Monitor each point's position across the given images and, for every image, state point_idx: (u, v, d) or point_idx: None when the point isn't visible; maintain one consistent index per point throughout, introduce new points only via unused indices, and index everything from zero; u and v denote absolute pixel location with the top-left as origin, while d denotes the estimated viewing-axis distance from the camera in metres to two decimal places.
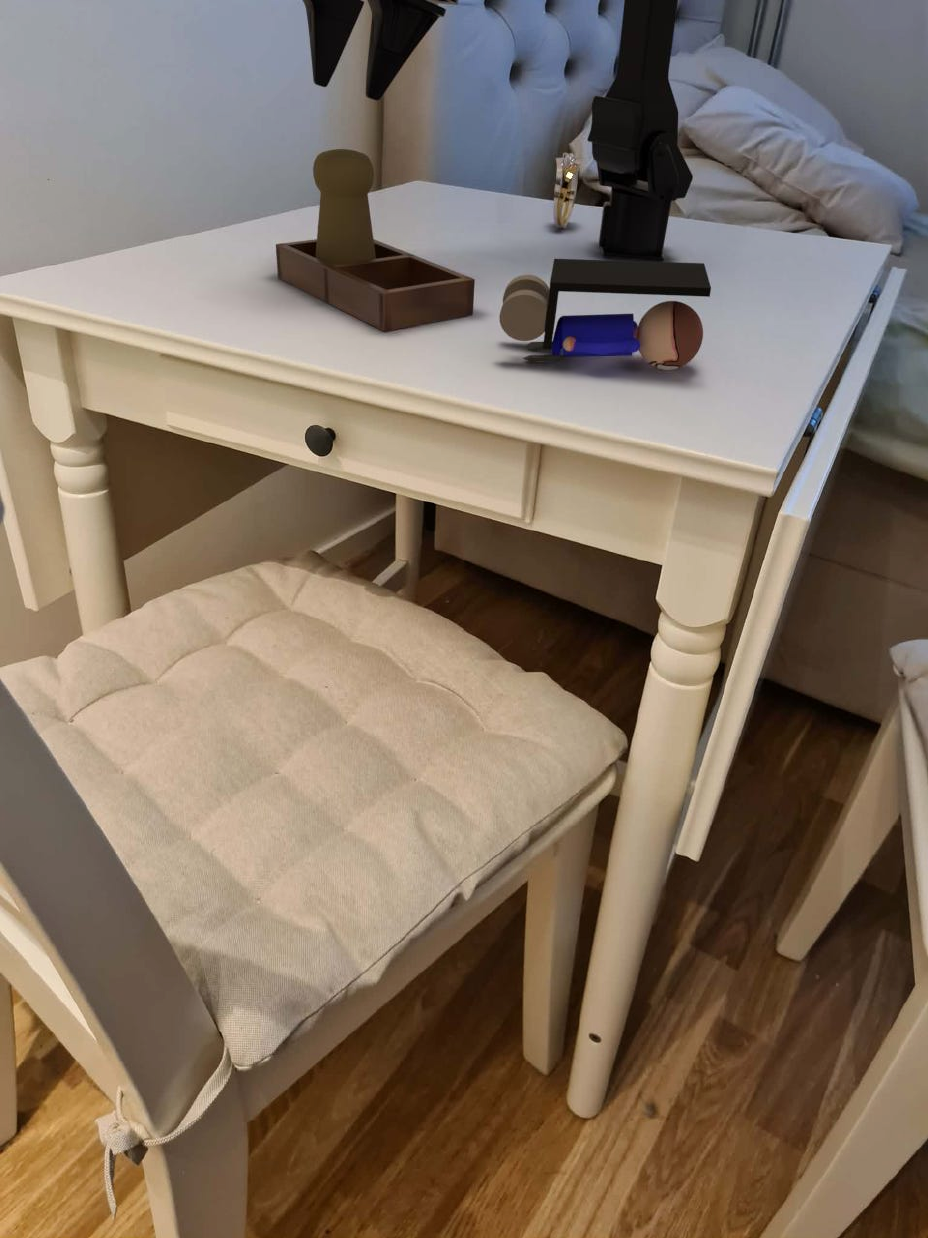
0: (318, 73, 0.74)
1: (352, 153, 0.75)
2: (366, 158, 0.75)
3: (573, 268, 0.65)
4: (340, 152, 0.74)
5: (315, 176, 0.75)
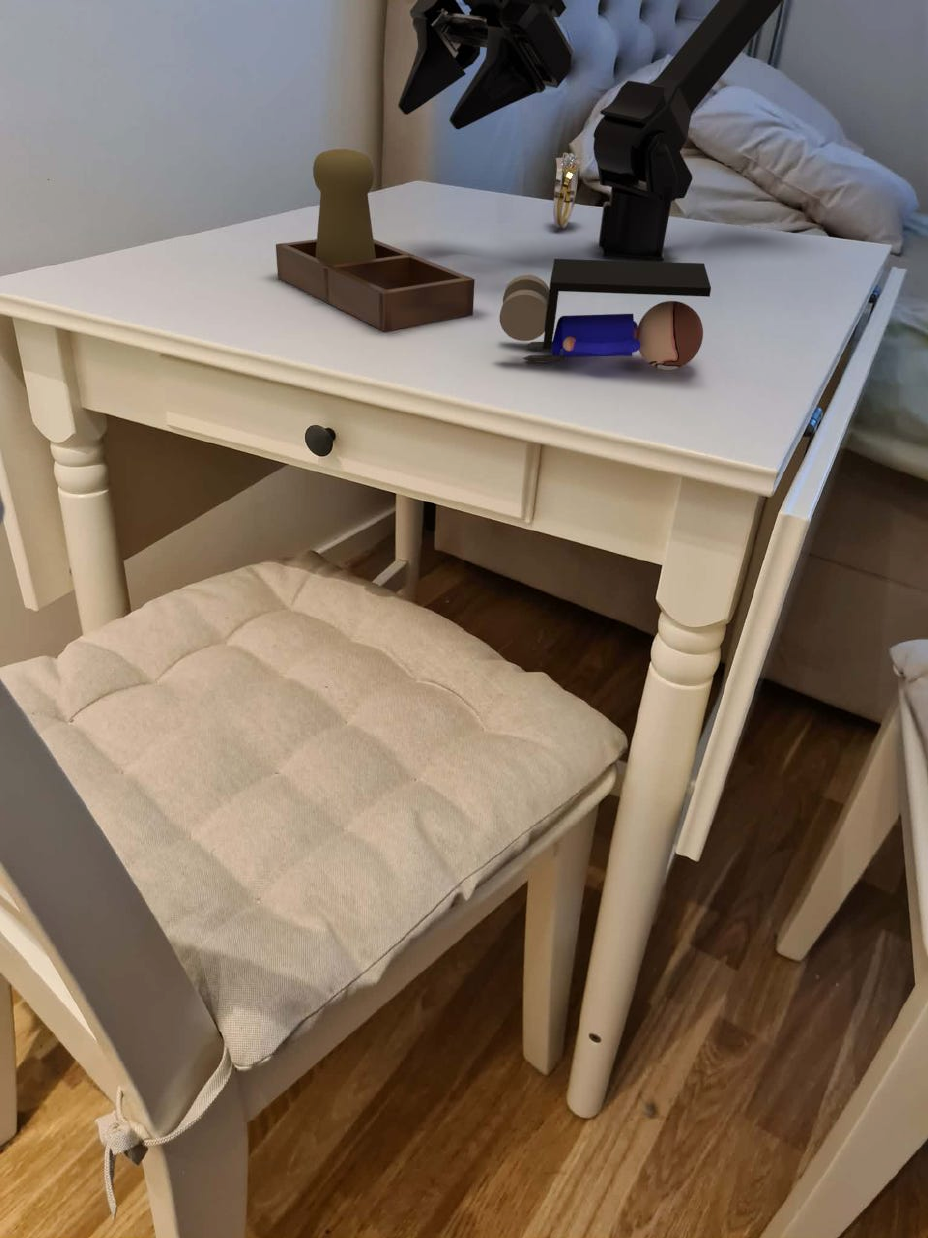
0: (405, 99, 0.80)
1: (352, 153, 0.75)
2: (366, 158, 0.75)
3: (573, 268, 0.65)
4: (340, 152, 0.74)
5: (315, 176, 0.75)
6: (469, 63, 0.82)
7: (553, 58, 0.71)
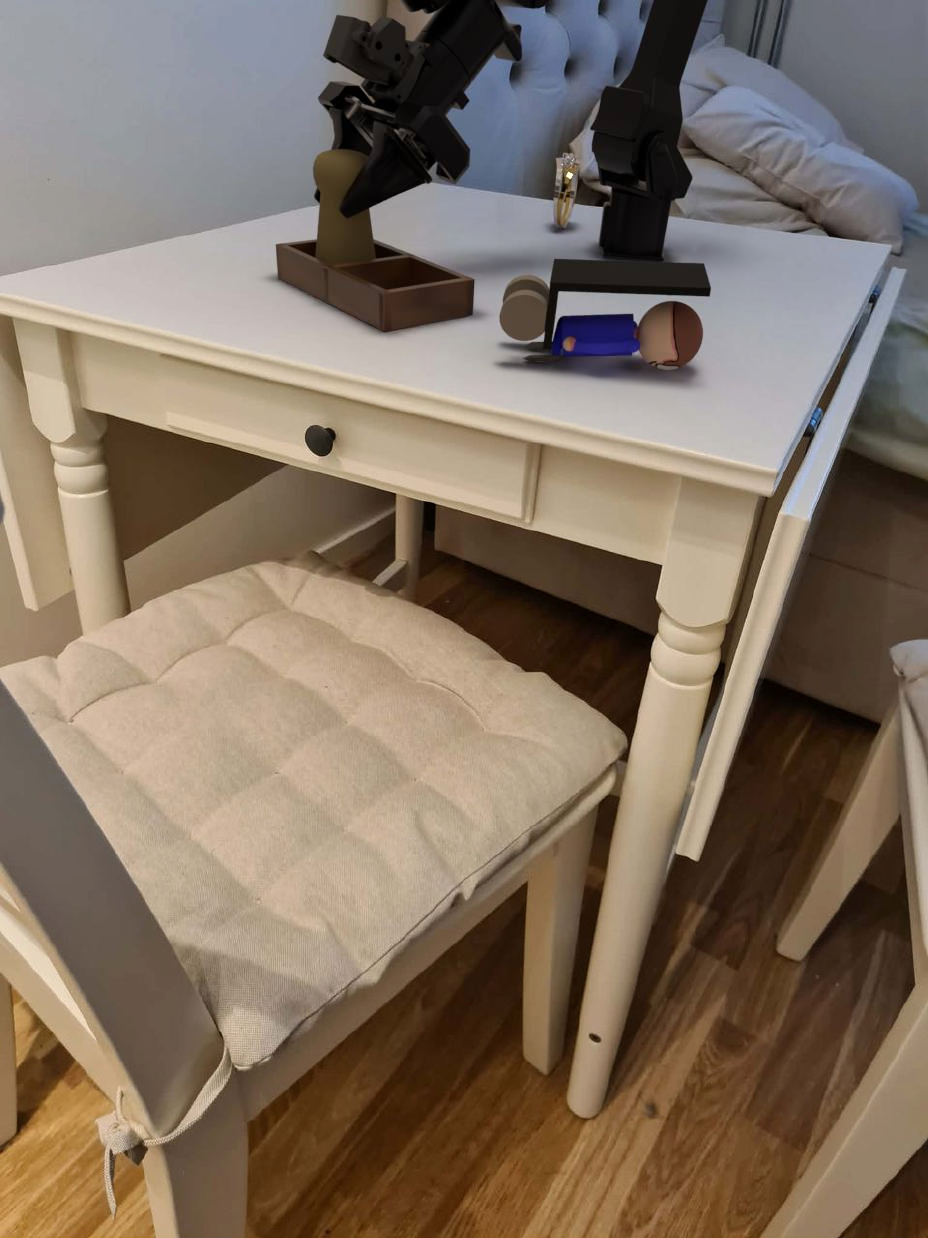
0: None
1: (352, 153, 0.75)
2: (366, 158, 0.75)
3: (572, 268, 0.65)
4: (340, 152, 0.74)
5: (315, 176, 0.75)
6: None
7: (448, 157, 0.71)
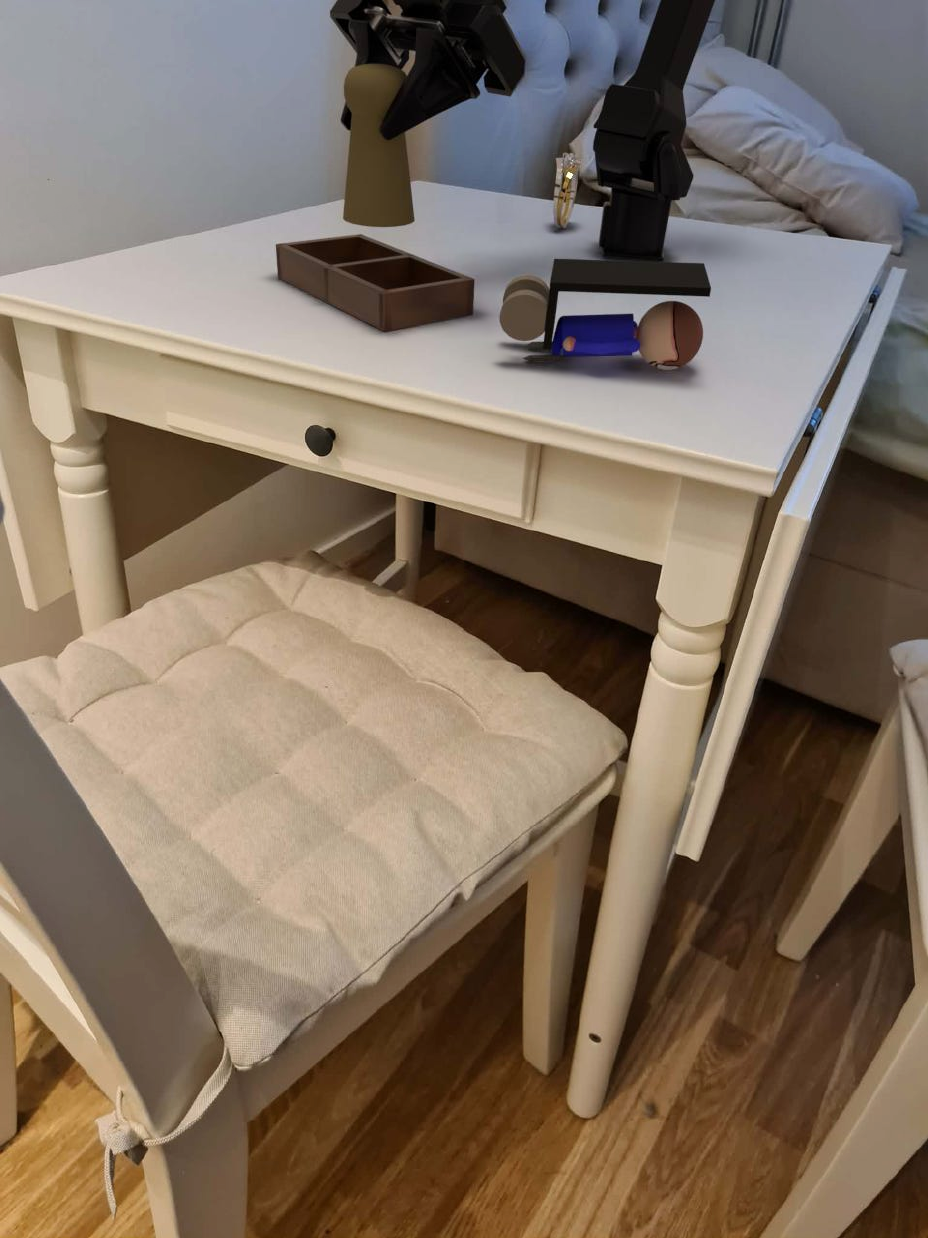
0: (349, 114, 0.71)
1: (389, 67, 0.67)
2: (404, 72, 0.68)
3: (573, 267, 0.65)
4: (376, 66, 0.67)
5: (348, 94, 0.68)
6: None
7: (507, 64, 0.64)
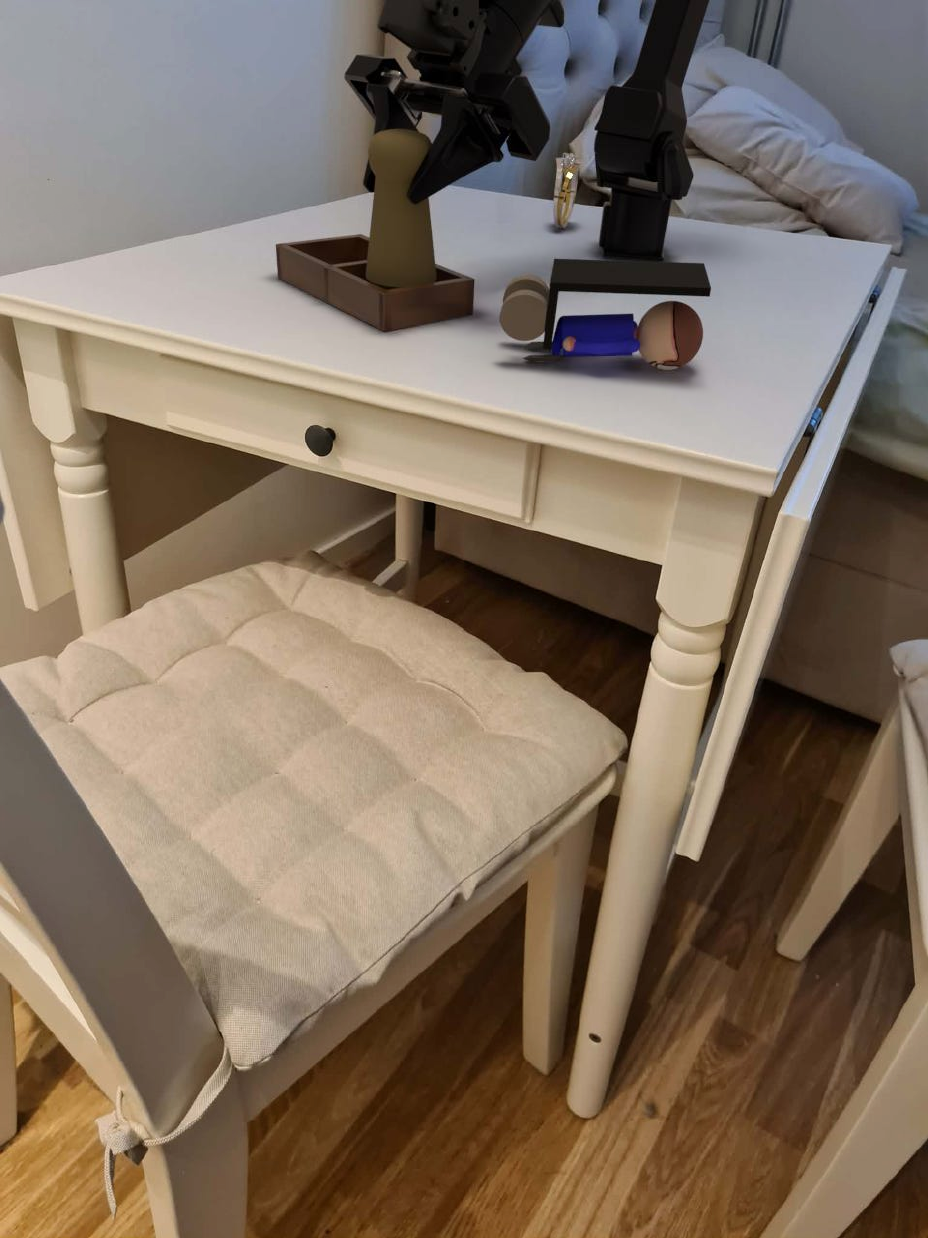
0: (371, 176, 0.71)
1: (414, 132, 0.68)
2: (428, 137, 0.69)
3: (572, 268, 0.65)
4: (401, 132, 0.68)
5: (375, 160, 0.68)
6: None
7: (534, 132, 0.66)
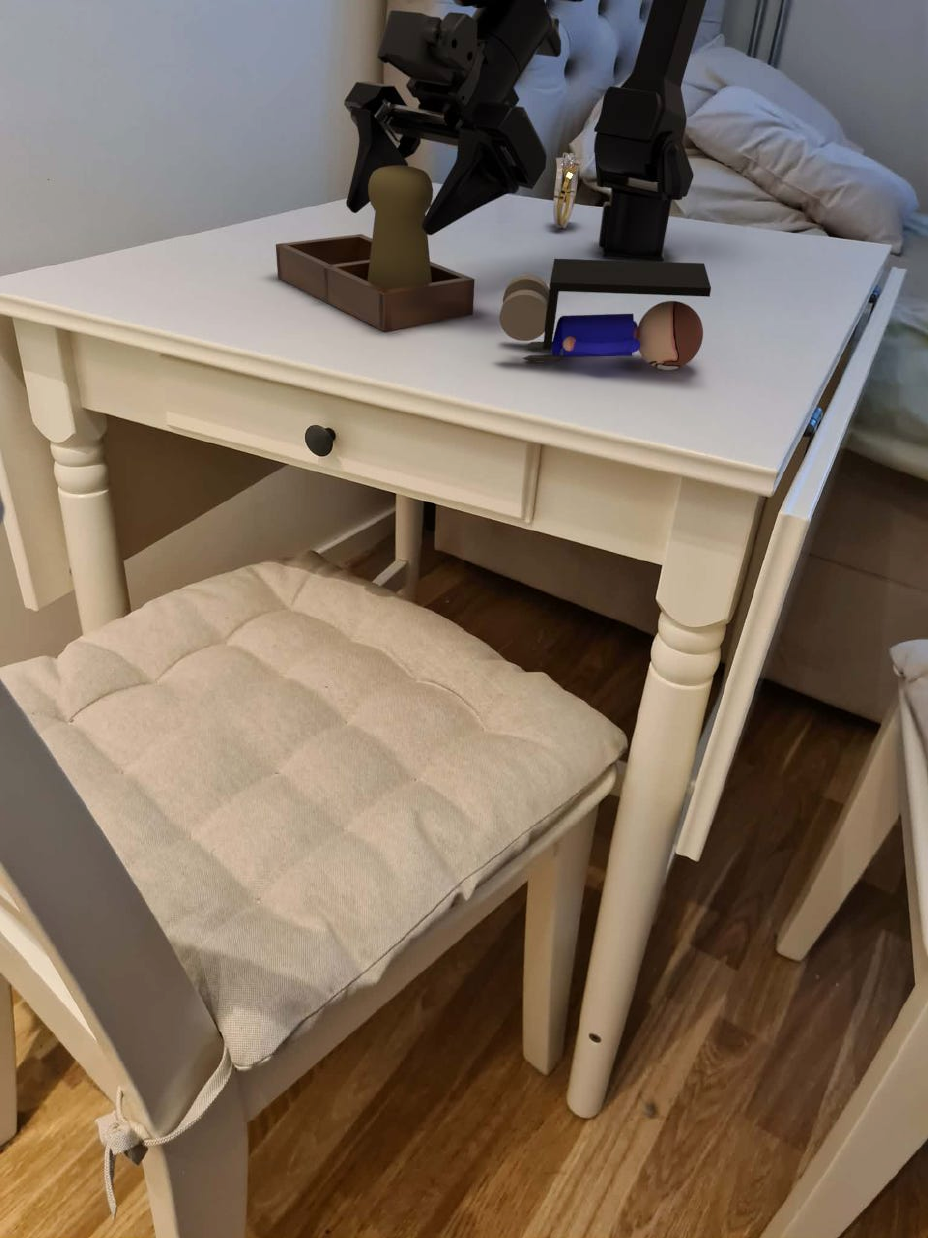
0: (354, 197, 0.73)
1: (413, 170, 0.70)
2: (427, 174, 0.70)
3: (573, 268, 0.65)
4: (401, 169, 0.69)
5: (375, 196, 0.70)
6: (410, 153, 0.77)
7: (531, 161, 0.67)
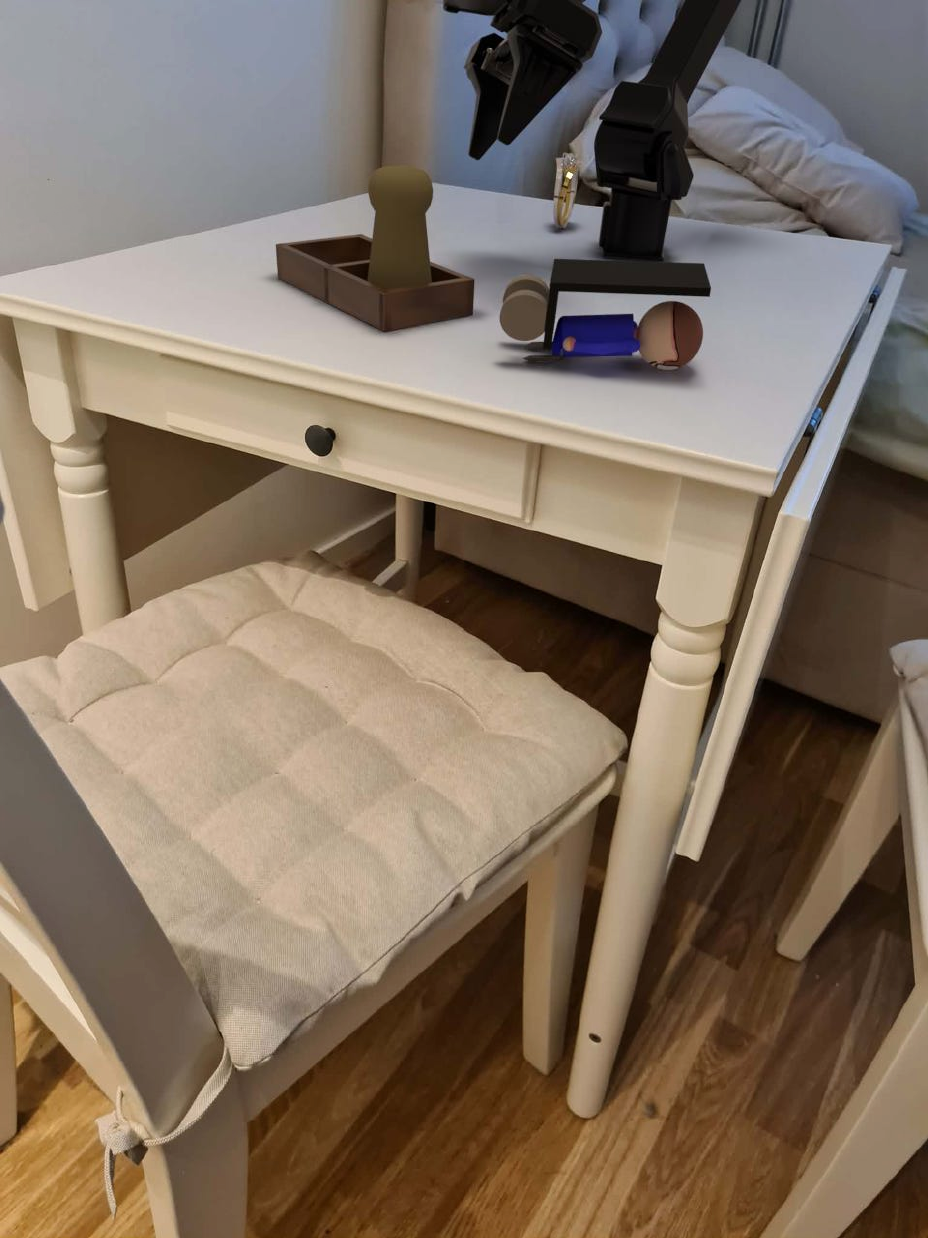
0: (473, 146, 0.80)
1: (413, 170, 0.70)
2: (427, 174, 0.70)
3: (573, 268, 0.65)
4: (401, 169, 0.69)
5: (375, 196, 0.70)
6: None
7: (574, 29, 0.66)
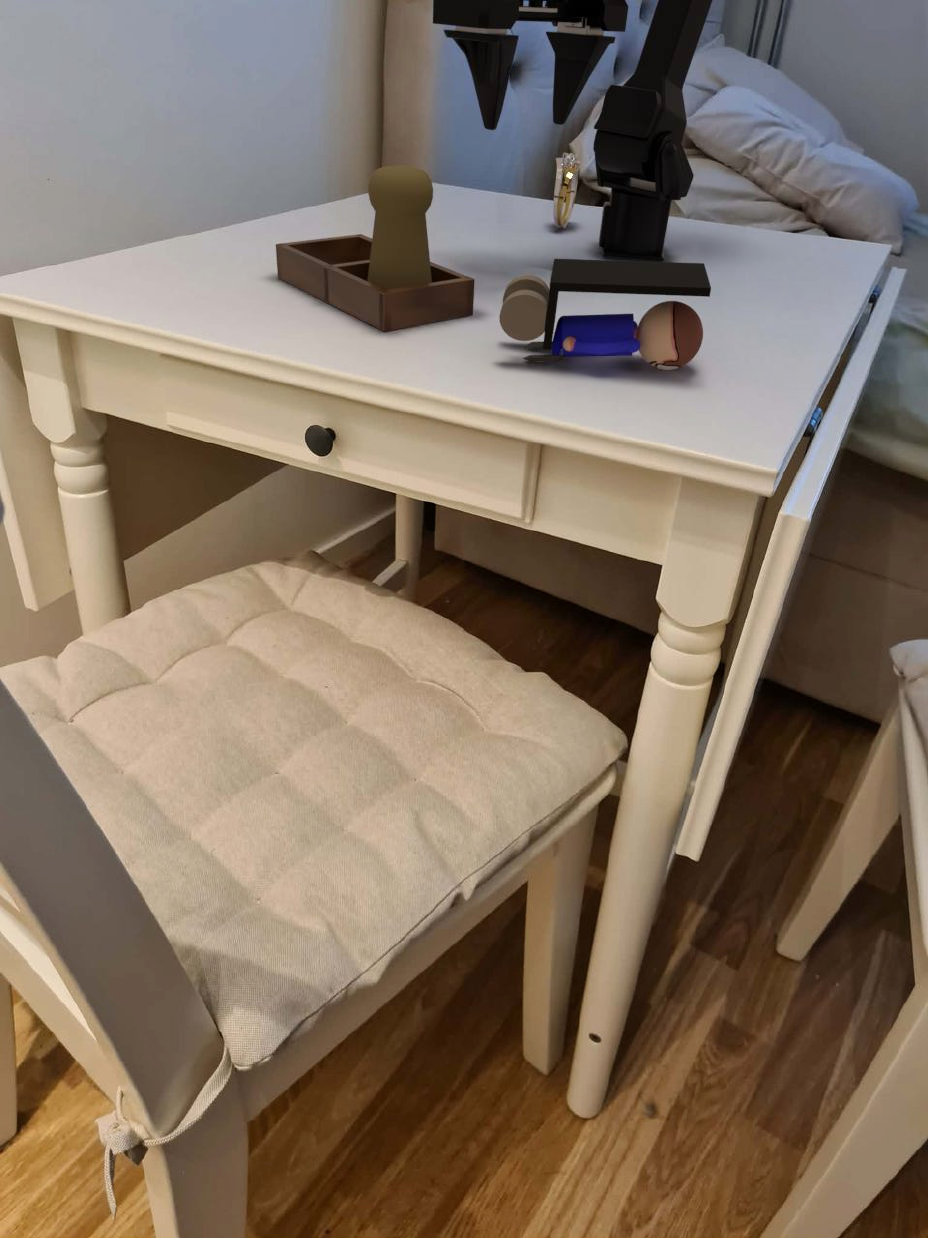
0: (554, 113, 0.81)
1: (413, 170, 0.70)
2: (427, 174, 0.70)
3: (573, 268, 0.65)
4: (401, 169, 0.69)
5: (375, 196, 0.70)
6: (602, 22, 0.76)
7: (463, 14, 0.68)
